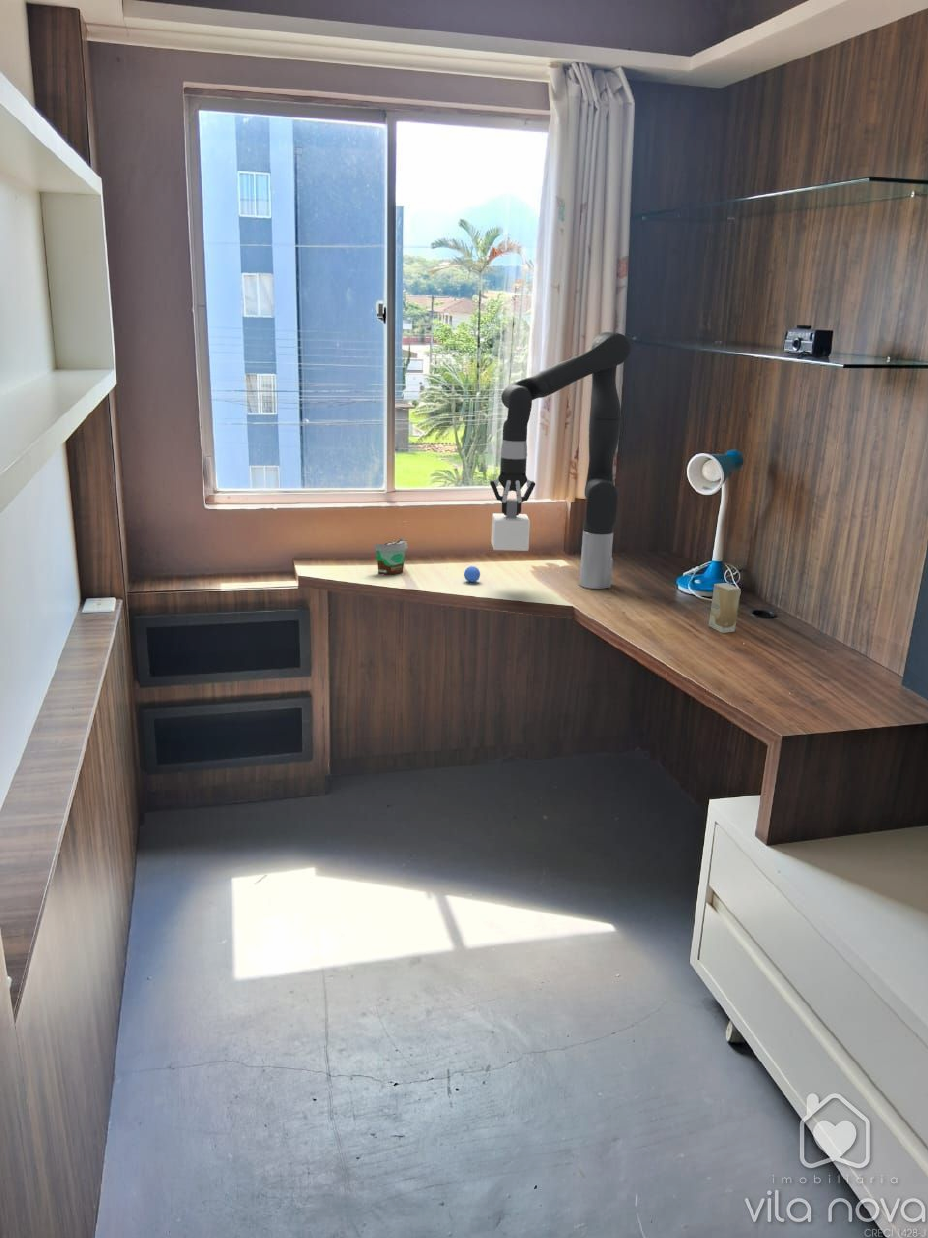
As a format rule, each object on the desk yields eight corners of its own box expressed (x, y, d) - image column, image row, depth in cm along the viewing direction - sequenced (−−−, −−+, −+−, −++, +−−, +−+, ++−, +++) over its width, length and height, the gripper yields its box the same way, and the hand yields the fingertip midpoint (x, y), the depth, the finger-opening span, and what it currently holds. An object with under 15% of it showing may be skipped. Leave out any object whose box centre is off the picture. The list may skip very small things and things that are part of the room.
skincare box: (707, 626, 258) (712, 583, 255) (720, 625, 260) (726, 582, 256) (722, 633, 253) (728, 589, 249) (735, 632, 254) (741, 588, 251)
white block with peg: (524, 542, 287) (527, 497, 283) (528, 550, 278) (530, 504, 274) (491, 541, 287) (493, 496, 283) (493, 550, 277) (495, 503, 273)
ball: (479, 580, 296) (480, 564, 294) (480, 584, 291) (480, 568, 290) (463, 579, 296) (463, 564, 294) (464, 584, 291) (464, 568, 289)
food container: (389, 578, 294) (389, 547, 291) (374, 574, 298) (375, 543, 295) (415, 571, 304) (415, 540, 301) (400, 567, 307) (400, 537, 304)
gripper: (536, 454, 278) (533, 512, 283) (488, 453, 277) (486, 511, 283) (539, 458, 271) (536, 517, 276) (490, 457, 270) (488, 516, 275)
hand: (510, 514), depth 279 cm, fingers closed on white block with peg, 3 cm apart
